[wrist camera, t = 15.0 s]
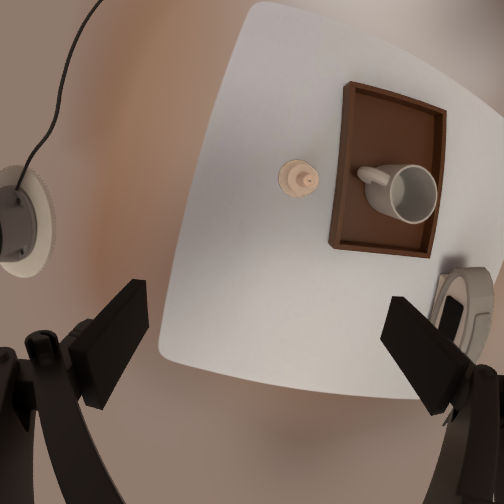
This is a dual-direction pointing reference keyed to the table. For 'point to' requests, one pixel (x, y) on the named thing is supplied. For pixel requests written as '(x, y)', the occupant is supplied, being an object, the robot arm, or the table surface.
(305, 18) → the table surface
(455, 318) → the alarm clock
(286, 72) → the table surface
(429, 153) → the tray
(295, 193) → the candle
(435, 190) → the cup
